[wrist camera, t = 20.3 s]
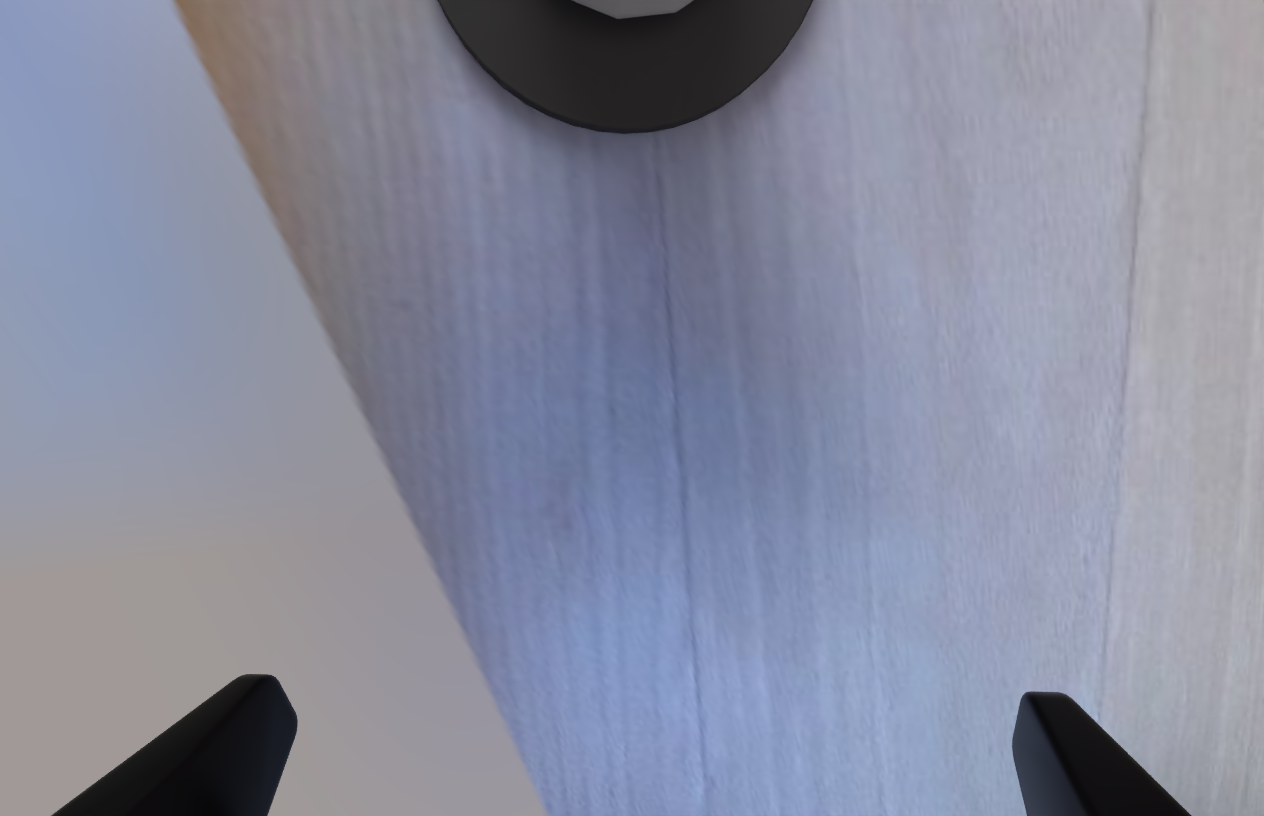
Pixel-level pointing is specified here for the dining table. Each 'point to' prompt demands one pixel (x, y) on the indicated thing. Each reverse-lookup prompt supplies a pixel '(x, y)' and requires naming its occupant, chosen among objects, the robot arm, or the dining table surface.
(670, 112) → the disc
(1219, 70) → the dining table surface
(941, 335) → the dining table surface
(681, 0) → the salt shaker
